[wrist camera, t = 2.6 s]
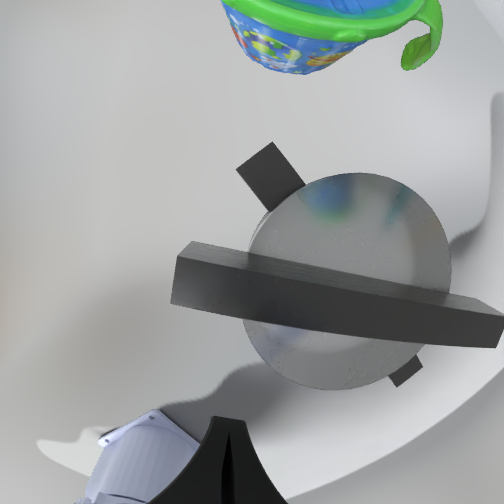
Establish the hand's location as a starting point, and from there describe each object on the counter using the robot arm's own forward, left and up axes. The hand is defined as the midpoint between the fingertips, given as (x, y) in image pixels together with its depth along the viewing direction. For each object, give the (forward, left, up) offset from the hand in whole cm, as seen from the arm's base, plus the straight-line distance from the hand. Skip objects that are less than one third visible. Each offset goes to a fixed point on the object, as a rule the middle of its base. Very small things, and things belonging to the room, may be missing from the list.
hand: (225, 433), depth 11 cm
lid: (+8, -1, -6) cm, 10 cm away
